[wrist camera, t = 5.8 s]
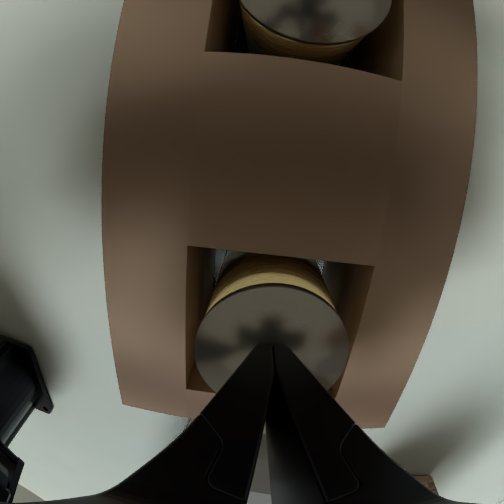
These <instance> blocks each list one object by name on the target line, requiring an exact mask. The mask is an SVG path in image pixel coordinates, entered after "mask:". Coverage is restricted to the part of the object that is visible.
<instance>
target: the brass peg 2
mask: <svg viewBox="0 0 504 504" xmlns="http://www.w3.org/2000/svg"><path fill="white" fill-rule="evenodd" d="M256 344H265V345H271V346H272V347H273V346H287V347H289V348H290V349H291V350H292V351H293V352H294V353H295V355H296V356H297V357H298V358H299V359H300V360H301V362H302V363H303V364H304V365H305V366H306V367H307V368H308V370H309V371H310V372H311V373H312V374H313V375H314V376H315V378H316V379H317V380H318V381H319V382H320V383H321V384H322V386H323V387H324V388H325V389H326V390H329V389H330V388H331V387H332V386H333V385H334V384H335V382H336V381H337V380H338V378H339V377H340V375H341V374H342V372H343V370H344V368H345V365H346V363H347V359H348V353H349V342H348V336H347V332H346V329H345V327H344V324H343V322H342V320H341V318H340V316H339V315H338V313H337V312H336V309H335V306H334V304H333V301H332V299H331V296H330V294H329V291H328V289H327V287H326V284H325V282H324V279H323V277H322V274H321V272H320V269H319V267H318V265H317V262H316V260H315V259H306V258H297V257H288V256H278V255H269V254H260V253H251V252H242V251H233V250H228V251H227V254H226V256H225V258H224V261H223V264H222V267H221V270H220V273H219V276H218V279H217V282H216V284H215V287H214V290H213V293H212V296H211V299H210V302H209V305H208V308H207V311H206V314H205V316H204V318H203V319H202V322H201V324H200V326H199V329H198V332H197V335H196V339H195V344H194V356H195V361H196V365H197V368H198V370H199V372H200V374H201V376H202V378H203V379H204V380H205V382H206V383H207V384H208V386H209V387H211V388H212V389H213V390H214V391H215V392H216V393H217V392H218V391H219V390H220V388H221V387H222V386H223V385H224V384H225V382H226V381H227V380H228V379H229V378H230V376H231V375H232V374H233V373H234V371H235V370H236V369H237V368H238V367H239V365H240V364H241V363H242V362H243V360H244V359H245V358H246V357H247V355H248V354H249V353H250V352H251V350H252V349H253V348H254V347H255V345H256Z"/></svg>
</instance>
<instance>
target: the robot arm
mask: <svg viewBox="0 0 504 504" xmlns="http://www.w3.org/2000/svg"><path fill="white" fill-rule="evenodd" d="M35 408H36V409H38V410H41V411H43V412H46V413H49V414H50V413H51V411H52V410H53V407H52V405H51V402H50V400H49V397H48V394H47V392H46V389H45V386H44V383H43V380H42V377H41V374H40V371H39V368H38V365H37V362H36V359H35V355H34V352H33V350H32V349H31V347H30V346H28V345H26V344H23V343H21V342H18V341H15V340H12V339H10V338H7V337H4V336H2V335H0V504H247V501H248V497H249V493H250V489H251V484H252V480H253V476H254V471H255V467H256V463H257V458H258V454H259V449H260V445H261V440H262V435H263V431H264V426H265V430H266V443H267V454H268V466H269V478H270V489H271V501H272V504H476V503H465V502H456V501H452V500H448V499H446V498H443V497H441V496H439V495H437V494H436V493H434V492H433V491H431V490H430V489H428V488H427V487H426V486H425V485H423V484H422V483H421V482H420V481H418V480H417V479H416V478H415V477H413V476H412V475H411V474H410V473H408V472H407V471H406V470H405V469H404V468H402V467H401V466H400V465H399V464H398V463H396V462H395V461H394V460H393V459H392V458H391V457H389V456H388V455H387V454H386V453H385V452H384V451H383V450H382V449H381V448H379V447H378V446H377V445H376V444H375V443H374V442H373V441H372V440H371V438H370V437H369V436H368V435H367V434H366V433H365V432H364V431H363V430H362V429H361V428H360V427H359V426H358V425H357V424H356V425H355V421H354V420H353V419H352V418H351V417H350V416H349V415H348V414H347V413H346V411H345V410H344V409H343V408H342V407H341V406H340V405H339V404H338V403H337V401H336V400H335V399H334V398H333V397H332V396H331V395H330V394H329V392H328V391H327V390H326V389H325V388H324V387H323V386H322V384H321V383H320V382H319V381H318V380H317V379H316V378H315V376H314V375H313V374H312V373H311V372H310V371H309V370H308V368H307V367H306V366H305V365H304V364H303V363H302V362H301V360H300V359H299V358H298V357H297V356H296V355H295V353H294V352H293V351H292V350H291V349H290V348H289V347H287V346H273V347H272V346H271V345H265V344H256V345H255V347H254V348H253V349H252V350H251V352H250V353H249V354H248V355H247V357H246V358H245V359H244V360H243V362H242V363H241V364H240V365H239V367H238V368H237V369H236V370H235V371H234V373H233V374H232V375H231V376H230V378H229V379H228V380H227V381H226V382H225V384H224V385H223V386H222V387H221V388H220V390H219V391H218V392H217V393H216V394H215V396H214V397H213V398H212V399H211V400H210V402H209V403H208V404H207V405H206V406H205V407H204V409H203V410H202V411H201V412H200V414H199V415H197V417H196V418H195V419H194V420H193V421H192V422H191V423H190V425H189V426H188V427H187V428H186V429H185V430H184V431H183V432H182V433H181V434H180V435H179V436H178V437H177V438H176V439H175V440H174V441H173V442H171V443H170V444H169V445H168V446H167V447H166V448H165V449H163V450H162V451H161V452H160V453H159V454H157V455H156V456H155V457H154V458H152V459H151V460H150V461H148V462H147V463H146V464H145V465H143V466H142V467H141V468H139V469H138V470H137V471H135V472H134V473H133V474H132V475H130V476H129V477H128V478H126V479H125V480H123V481H122V482H121V483H119V484H118V485H116V486H114V487H113V488H111V489H109V490H106V491H104V492H101V493H98V494H95V495H90V496H84V497H77V498H70V499H62V500H53V501H43V502H29V503H12V501H13V498H14V495H15V491H16V488H17V485H18V482H19V479H20V475H21V472H22V469H23V466H24V462H23V461H22V460H21V459H20V458H19V457H17V456H16V455H15V454H14V453H13V452H12V451H11V450H10V449H9V448H8V446H9V444H10V443H11V441H12V440H13V438H14V437H15V436H16V434H17V433H18V431H19V430H20V428H21V427H22V425H23V424H24V423H25V421H26V420H27V418H28V417H29V416H30V414H31V413H32V411H33V410H34V409H35Z"/></svg>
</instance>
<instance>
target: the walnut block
mask: <svg viewBox="0 0 504 504" xmlns="http://www.w3.org/2000/svg"><path fill="white" fill-rule="evenodd" d="M239 14H240V3H239V0H124V4H123V8H122V12H121V17H120V22H119V26H118V31H117V37H116V42H115V48H114V54H113V60H112V66H111V73H110V80H109V88H108V97H107V106H106V116H105V128H104V142H103V161H102V244H103V263H104V278H105V290H106V300H107V310H108V319H109V327H110V334H111V342H112V348H113V355H114V361H115V367H116V373H117V378H118V384H119V389H120V394H121V399H122V404H124V405H128V406H132V407H136V408H141V409H145V410H150V411H155V412H160V413H165V414H170V415H175V416H181V417H187V418H193V419H195V418H196V417H197V415H199V414H200V412H201V411H202V410H203V409H204V407H205V406H206V405H207V404H208V403H209V402H210V400H211V399H212V398H213V397H214V396H215V394H216V392H215V391H214V390H213V389H212V388H211V387H209V386H208V384H207V383H206V382H205V380H204V379H203V378H202V376H201V374H200V372H199V370H198V368H197V365H196V361H195V356H194V344H195V339H196V335H197V332H198V329H199V326H200V324H201V322H202V319H203V318H204V316H205V314H206V311H207V308H208V305H209V302H210V299H211V296H212V293H213V276H214V261H215V249H224V250H233V251H242V252H251V253H260V254H269V255H278V256H288V257H297V258H306V259H315V260H324V261H325V262H324V267H323V272H322V277H323V279H324V282H325V284H326V287H327V289H328V291H329V294H330V296H331V299H332V301H333V304H334V306H335V309H336V312H337V313H338V315H339V316H340V318H341V320H342V322H343V324H344V327H345V329H346V332H347V336H348V342H349V353H348V359H347V363H346V365H345V368H344V370H343V372H342V374H341V375H340V377H339V378H338V380H337V381H336V382H335V384H334V385H333V386H332V387H331V388H330V389H329V390H327V391H328V392H329V394H330V395H331V396H332V397H333V398H334V399H335V400H336V401H337V403H338V404H339V405H340V406H341V407H342V408H343V409H344V410H345V411H346V413H347V414H348V415H349V416H350V417H351V418H352V419H353V420H354V421H355V425H356V424H357V425H358V426H359V427H360V428H361V429H365V428H383V427H385V425H386V424H387V422H388V420H389V418H390V416H391V414H392V412H393V410H394V408H395V406H396V404H397V402H398V400H399V398H400V396H401V394H402V392H403V390H404V388H405V386H406V384H407V381H408V379H409V377H410V375H411V373H412V370H413V368H414V366H415V363H416V361H417V359H418V356H419V354H420V352H421V349H422V347H423V344H424V342H425V339H426V336H427V334H428V331H429V329H430V326H431V323H432V320H433V318H434V315H435V312H436V309H437V306H438V303H439V300H440V297H441V294H442V291H443V288H444V285H445V281H446V278H447V275H448V271H449V268H450V264H451V260H452V257H453V253H454V249H455V245H456V241H457V237H458V233H459V228H460V224H461V219H462V215H463V210H464V205H465V199H466V194H467V188H468V182H469V176H470V169H471V162H472V154H473V145H474V135H475V123H476V108H477V41H476V26H475V15H474V6H473V0H392V3H391V7H390V10H389V12H388V14H387V16H386V17H385V19H384V20H383V22H382V23H381V24H380V25H379V26H378V27H377V28H376V29H375V30H374V31H372V32H371V33H369V34H368V35H367V36H365V37H364V38H363V39H362V40H361V41H360V42H359V43H358V44H357V45H356V46H355V47H354V48H353V49H352V51H351V65H350V68H347V67H342V66H337V65H332V64H326V63H320V62H314V61H308V60H301V59H294V58H287V57H278V56H269V55H259V54H246V53H234V52H235V44H236V37H237V29H238V22H239ZM264 427H265V426H264Z"/></svg>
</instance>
